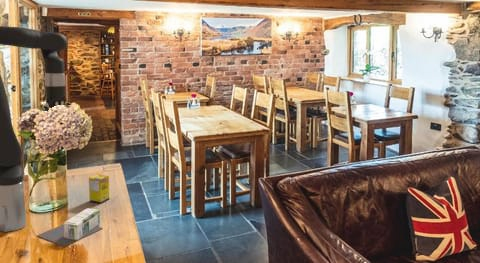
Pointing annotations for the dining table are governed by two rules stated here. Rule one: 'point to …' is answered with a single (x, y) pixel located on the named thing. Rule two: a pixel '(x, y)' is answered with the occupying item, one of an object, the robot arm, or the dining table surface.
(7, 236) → the dining table surface
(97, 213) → the syrup box
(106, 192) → the supplement box
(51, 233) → the charcoal mat
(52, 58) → the robot arm
